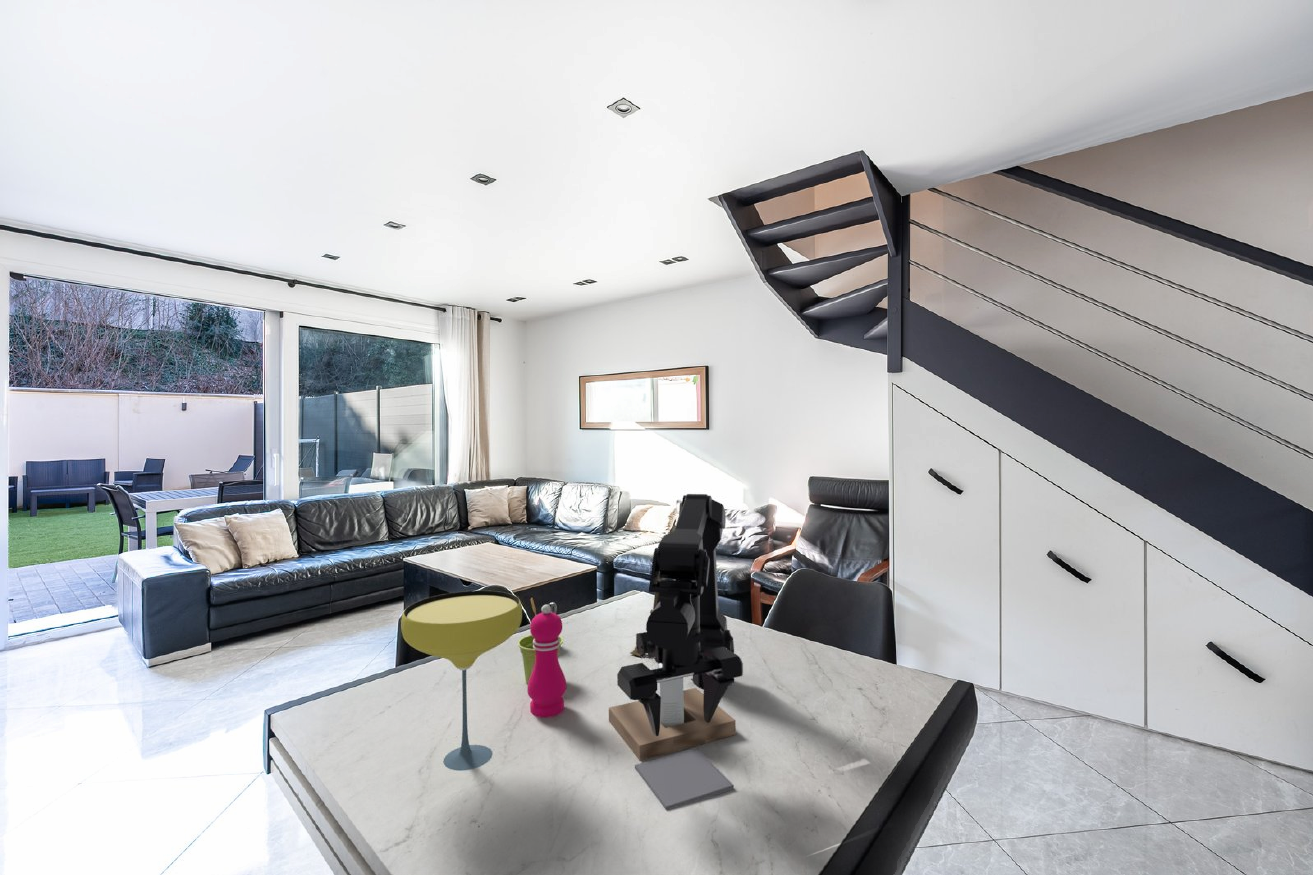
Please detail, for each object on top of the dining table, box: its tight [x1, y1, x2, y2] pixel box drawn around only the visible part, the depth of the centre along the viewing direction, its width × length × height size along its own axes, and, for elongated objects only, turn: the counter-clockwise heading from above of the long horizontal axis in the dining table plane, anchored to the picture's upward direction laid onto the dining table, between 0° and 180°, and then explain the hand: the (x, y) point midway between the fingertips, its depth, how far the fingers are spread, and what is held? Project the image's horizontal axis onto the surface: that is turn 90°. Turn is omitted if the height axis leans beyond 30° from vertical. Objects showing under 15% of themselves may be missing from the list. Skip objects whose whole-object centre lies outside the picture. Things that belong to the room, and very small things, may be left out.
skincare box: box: [656, 662, 684, 728], centre depth 100 cm, size 6×4×12 cm
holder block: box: [608, 687, 737, 762], centre depth 100 cm, size 18×14×2 cm
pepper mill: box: [527, 604, 567, 718], centre depth 107 cm, size 7×7×20 cm
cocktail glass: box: [400, 590, 523, 772], centre depth 90 cm, size 18×18×25 cm
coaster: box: [634, 747, 735, 811], centre depth 85 cm, size 11×11×1 cm
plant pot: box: [517, 634, 564, 685], centre depth 119 cm, size 9×9×9 cm
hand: (682, 728), depth 85 cm, fingers open, 8 cm apart
